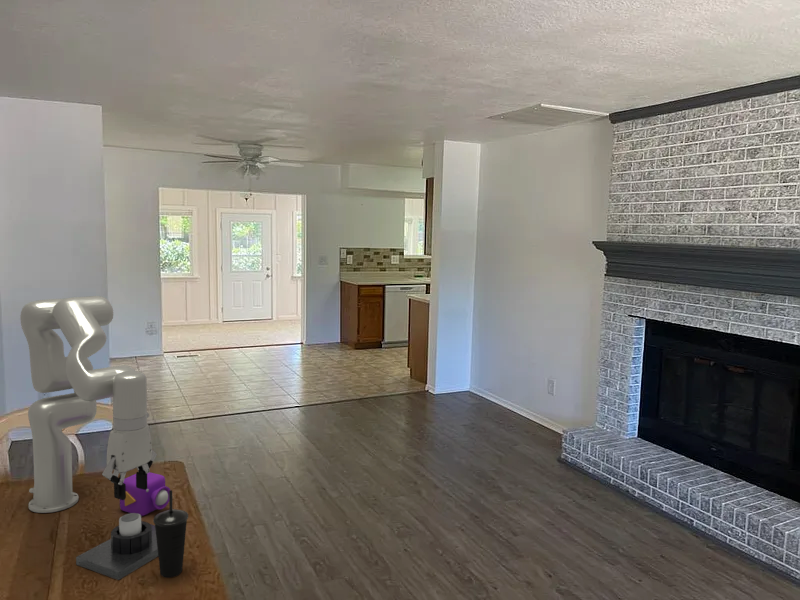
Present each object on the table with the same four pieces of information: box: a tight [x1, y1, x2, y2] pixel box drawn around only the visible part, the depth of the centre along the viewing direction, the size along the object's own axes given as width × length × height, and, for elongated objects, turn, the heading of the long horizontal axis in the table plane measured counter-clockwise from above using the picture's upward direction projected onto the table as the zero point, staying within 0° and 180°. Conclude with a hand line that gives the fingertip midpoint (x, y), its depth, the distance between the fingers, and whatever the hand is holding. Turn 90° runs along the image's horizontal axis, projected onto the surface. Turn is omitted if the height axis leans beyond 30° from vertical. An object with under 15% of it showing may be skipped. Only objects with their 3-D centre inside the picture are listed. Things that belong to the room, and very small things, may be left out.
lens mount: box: [75, 520, 159, 581], centre depth 149 cm, size 14×20×6 cm
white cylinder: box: [118, 512, 142, 536], centre depth 149 cm, size 5×5×7 cm
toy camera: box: [119, 471, 171, 517], centre depth 172 cm, size 11×14×10 cm
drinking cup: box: [152, 489, 189, 579], centre depth 140 cm, size 8×8×20 cm
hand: (131, 492), depth 148 cm, fingers open, 5 cm apart
